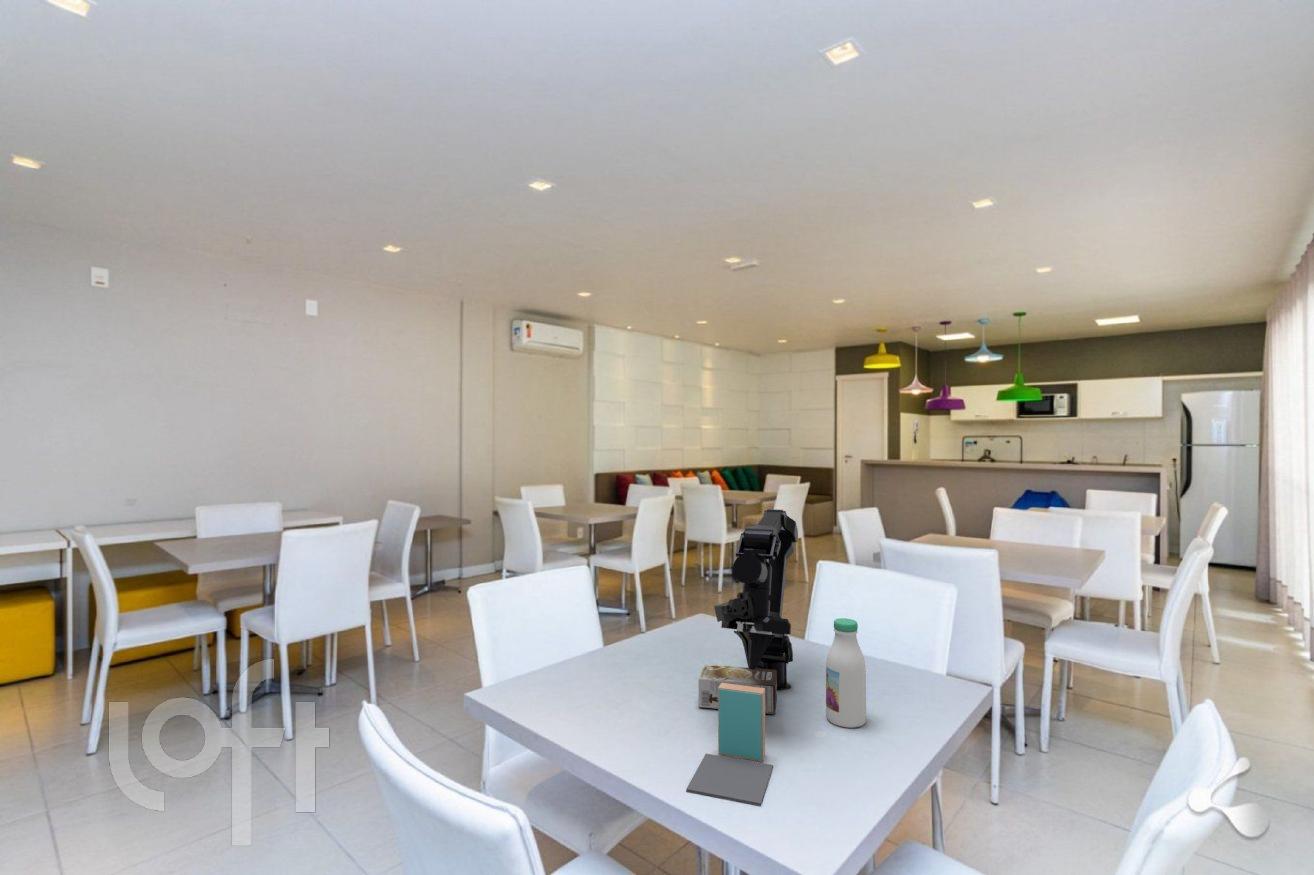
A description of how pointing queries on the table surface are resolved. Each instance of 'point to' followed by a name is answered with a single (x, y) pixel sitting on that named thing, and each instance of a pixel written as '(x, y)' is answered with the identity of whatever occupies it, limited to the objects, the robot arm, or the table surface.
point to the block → (741, 721)
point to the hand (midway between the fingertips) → (751, 669)
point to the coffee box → (739, 676)
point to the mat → (731, 779)
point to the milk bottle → (845, 677)
